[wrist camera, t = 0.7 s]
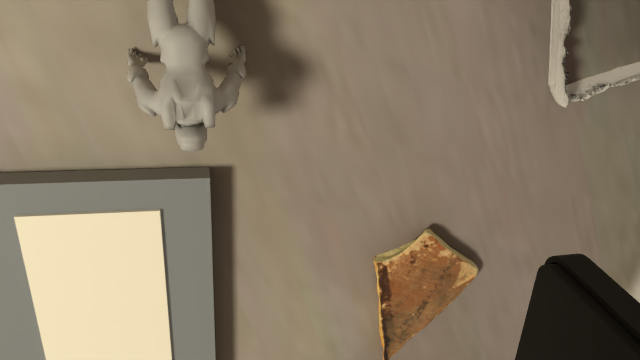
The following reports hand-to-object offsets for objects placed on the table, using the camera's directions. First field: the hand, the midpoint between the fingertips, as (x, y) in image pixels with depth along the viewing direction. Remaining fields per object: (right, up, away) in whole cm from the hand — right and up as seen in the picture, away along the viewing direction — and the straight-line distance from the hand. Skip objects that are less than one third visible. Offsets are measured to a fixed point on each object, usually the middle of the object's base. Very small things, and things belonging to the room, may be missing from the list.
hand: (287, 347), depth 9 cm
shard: (+9, -5, +33) cm, 35 cm away
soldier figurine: (-7, +12, +20) cm, 25 cm away
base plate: (-14, -4, +27) cm, 31 cm away
